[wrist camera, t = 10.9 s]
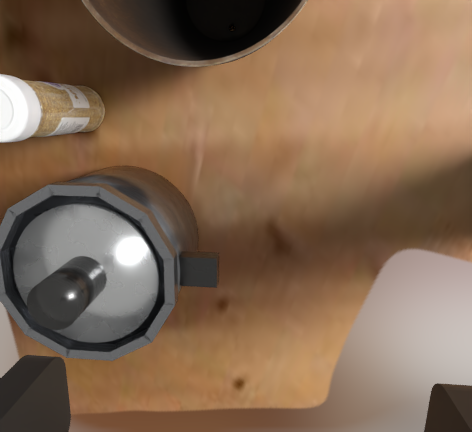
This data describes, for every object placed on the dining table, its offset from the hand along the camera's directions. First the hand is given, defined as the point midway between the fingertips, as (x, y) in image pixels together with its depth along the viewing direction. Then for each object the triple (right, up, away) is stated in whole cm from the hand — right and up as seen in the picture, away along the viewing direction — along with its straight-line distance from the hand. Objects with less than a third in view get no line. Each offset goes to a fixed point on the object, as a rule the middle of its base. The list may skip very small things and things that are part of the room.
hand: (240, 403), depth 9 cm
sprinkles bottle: (-15, +15, +31) cm, 37 cm away
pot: (-12, +2, +34) cm, 36 cm away
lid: (-12, -1, +24) cm, 27 cm away
